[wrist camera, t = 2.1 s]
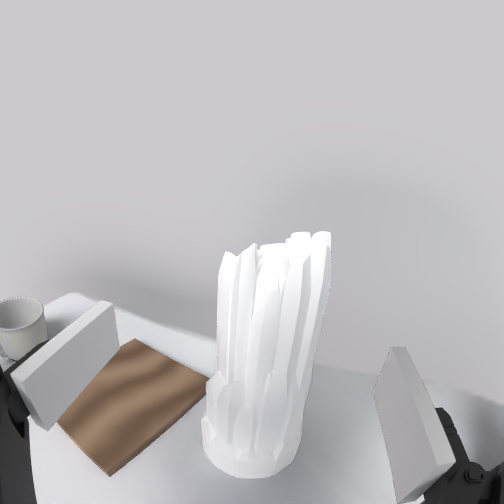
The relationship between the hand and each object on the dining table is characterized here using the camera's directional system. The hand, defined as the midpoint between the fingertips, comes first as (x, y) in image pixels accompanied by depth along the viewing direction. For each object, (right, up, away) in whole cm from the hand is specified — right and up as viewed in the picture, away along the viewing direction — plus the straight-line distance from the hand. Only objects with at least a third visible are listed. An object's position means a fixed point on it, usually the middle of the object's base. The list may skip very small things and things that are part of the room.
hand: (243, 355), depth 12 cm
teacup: (-38, -13, +21) cm, 45 cm away
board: (-17, -15, +19) cm, 29 cm away
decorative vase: (0, -17, +16) cm, 23 cm away
